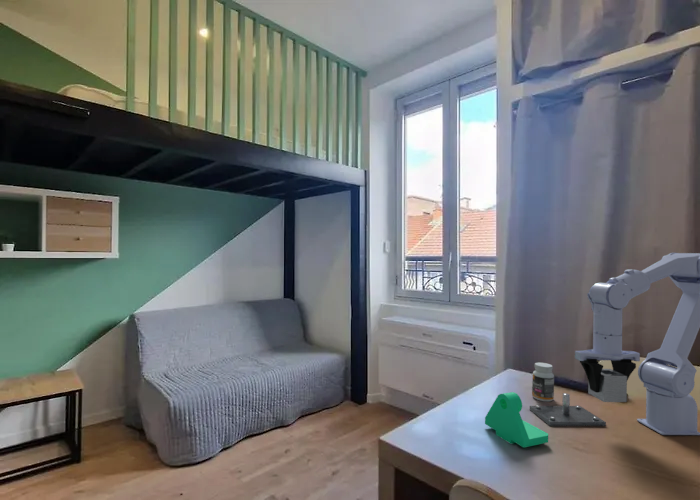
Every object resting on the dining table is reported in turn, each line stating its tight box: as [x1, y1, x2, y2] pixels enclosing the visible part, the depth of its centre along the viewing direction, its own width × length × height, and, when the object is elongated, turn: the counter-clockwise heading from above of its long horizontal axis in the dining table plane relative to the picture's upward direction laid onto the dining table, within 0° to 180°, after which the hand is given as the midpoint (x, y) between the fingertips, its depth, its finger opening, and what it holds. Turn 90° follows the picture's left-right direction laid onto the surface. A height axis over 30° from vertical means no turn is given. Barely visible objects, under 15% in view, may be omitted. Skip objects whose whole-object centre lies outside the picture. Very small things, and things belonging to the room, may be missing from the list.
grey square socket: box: [587, 368, 628, 403], centre depth 91 cm, size 5×5×6 cm
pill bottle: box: [531, 362, 555, 403], centre depth 113 cm, size 6×6×10 cm
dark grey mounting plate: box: [529, 392, 607, 427], centre depth 100 cm, size 14×10×6 cm
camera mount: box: [484, 391, 549, 448], centre depth 89 cm, size 12×8×10 cm, turn 21°
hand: (606, 390), depth 91 cm, fingers closed on grey square socket, 5 cm apart
